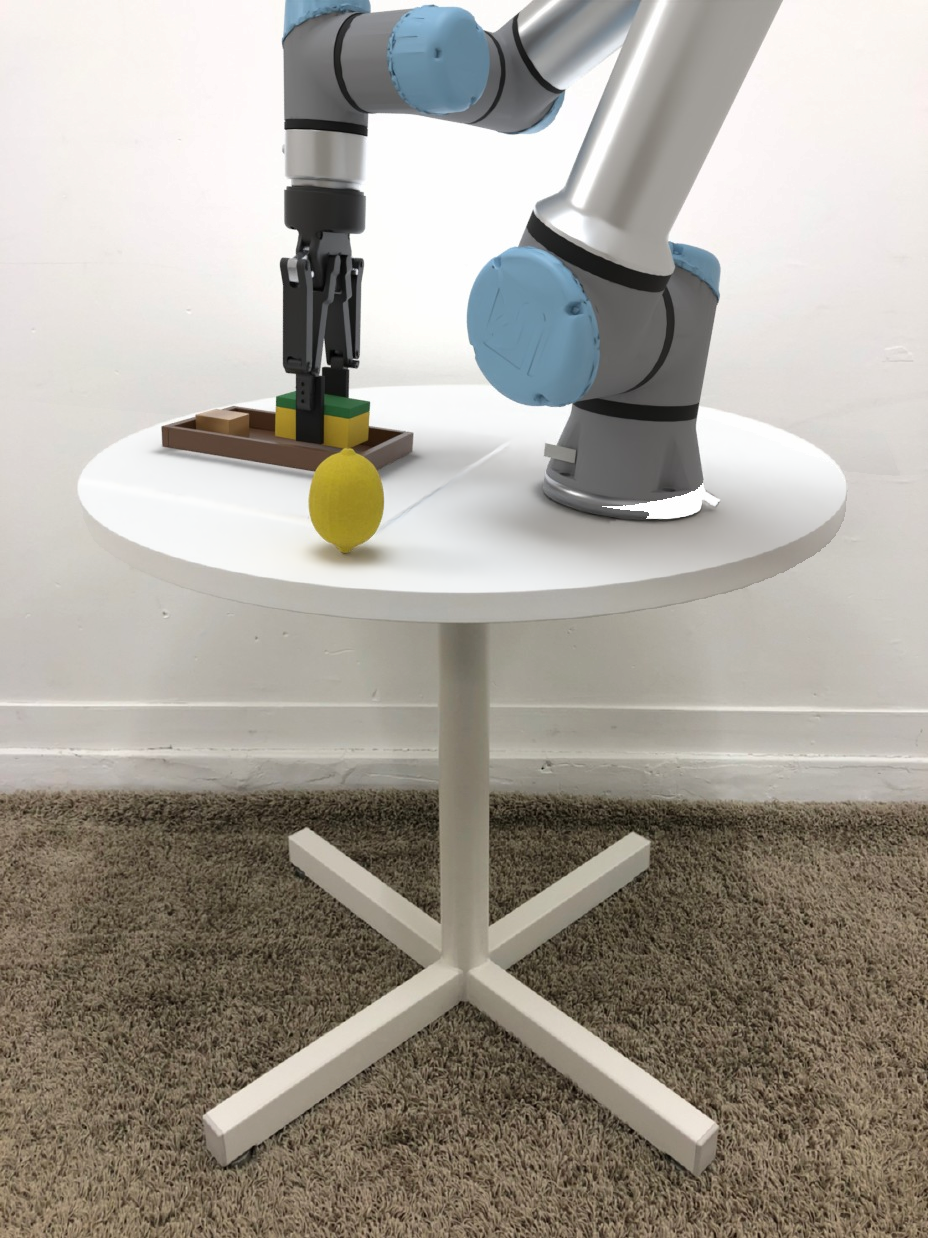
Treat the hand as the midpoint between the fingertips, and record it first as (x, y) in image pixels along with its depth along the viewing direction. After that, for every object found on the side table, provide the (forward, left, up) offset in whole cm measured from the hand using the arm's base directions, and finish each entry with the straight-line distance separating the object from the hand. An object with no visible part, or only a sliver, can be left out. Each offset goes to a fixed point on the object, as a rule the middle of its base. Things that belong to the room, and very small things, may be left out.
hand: (322, 436), depth 98 cm
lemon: (-14, +25, -3) cm, 29 cm away
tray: (+4, 0, -2) cm, 4 cm away
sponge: (0, 0, 0) cm, 0 cm away
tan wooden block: (+12, 0, -2) cm, 12 cm away
